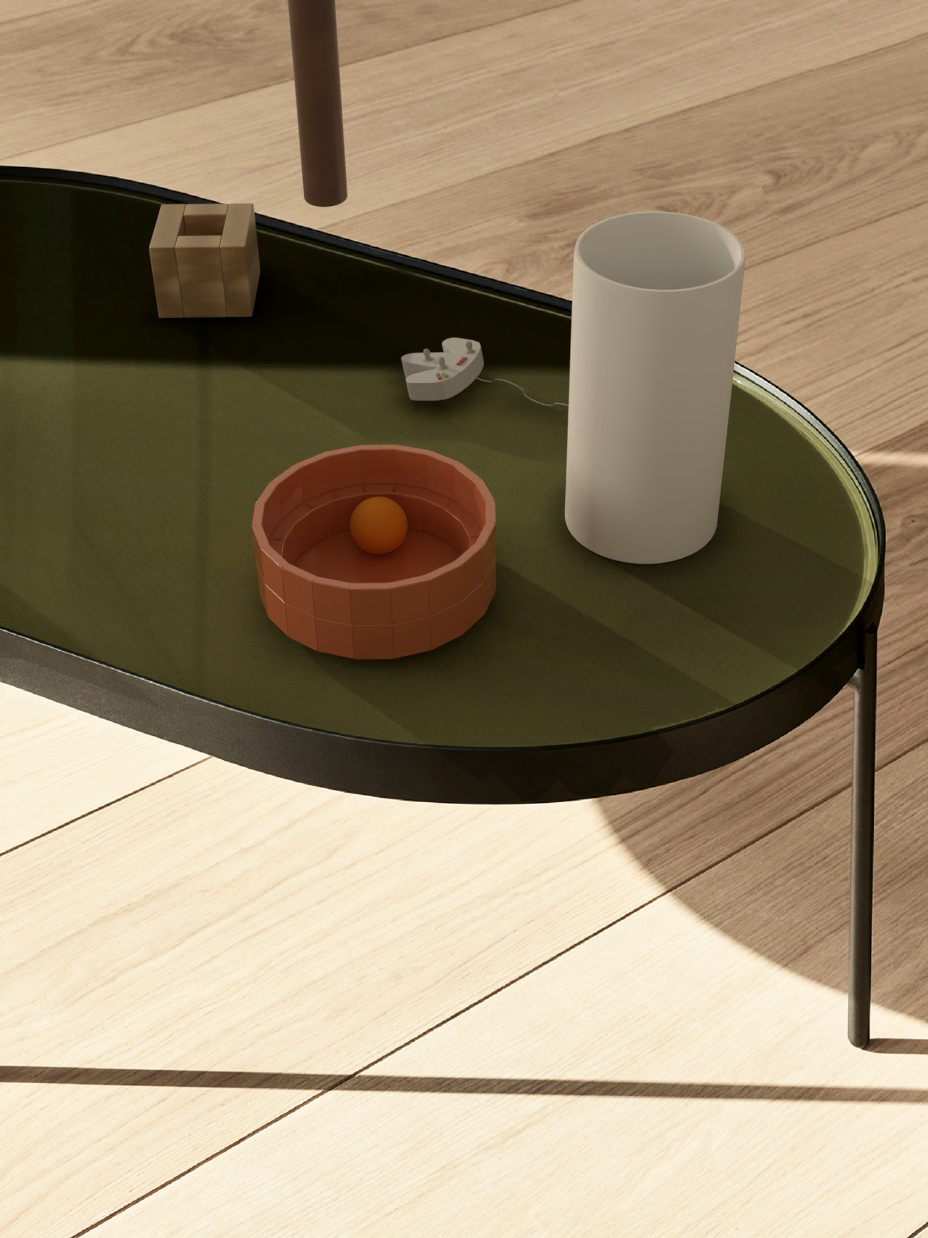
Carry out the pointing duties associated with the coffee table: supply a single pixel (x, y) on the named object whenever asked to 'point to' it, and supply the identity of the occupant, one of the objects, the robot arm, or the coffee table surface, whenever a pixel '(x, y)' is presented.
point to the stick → (318, 100)
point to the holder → (205, 260)
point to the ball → (378, 525)
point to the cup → (650, 383)
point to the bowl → (375, 583)
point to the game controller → (445, 370)
